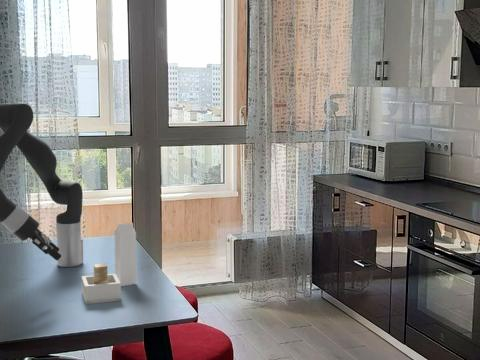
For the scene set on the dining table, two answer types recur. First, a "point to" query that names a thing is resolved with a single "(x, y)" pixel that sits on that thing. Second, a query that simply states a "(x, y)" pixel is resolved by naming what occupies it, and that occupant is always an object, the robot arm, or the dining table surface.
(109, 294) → the white well
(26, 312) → the dining table surface
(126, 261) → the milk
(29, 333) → the dining table surface
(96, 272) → the beech post
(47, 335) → the dining table surface
